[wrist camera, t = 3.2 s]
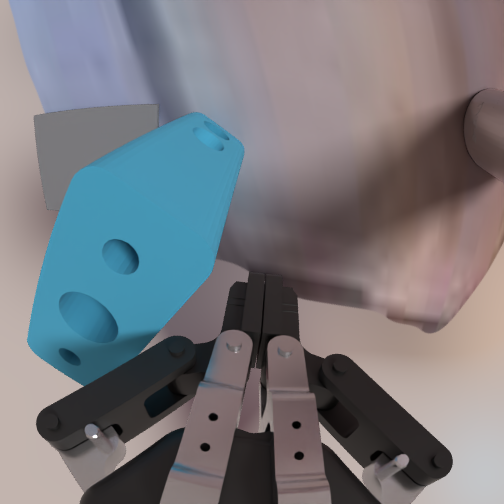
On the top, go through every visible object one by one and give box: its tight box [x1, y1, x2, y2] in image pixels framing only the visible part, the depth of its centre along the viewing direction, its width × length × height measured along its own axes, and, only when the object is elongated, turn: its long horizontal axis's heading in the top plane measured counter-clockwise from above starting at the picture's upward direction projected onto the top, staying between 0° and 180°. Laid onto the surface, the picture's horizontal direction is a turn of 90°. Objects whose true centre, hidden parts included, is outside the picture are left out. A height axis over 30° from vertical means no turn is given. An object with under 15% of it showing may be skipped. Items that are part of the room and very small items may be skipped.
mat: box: [34, 104, 159, 211], centre depth 27 cm, size 16×12×1 cm
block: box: [27, 112, 244, 386], centre depth 19 cm, size 12×5×20 cm, turn 141°
